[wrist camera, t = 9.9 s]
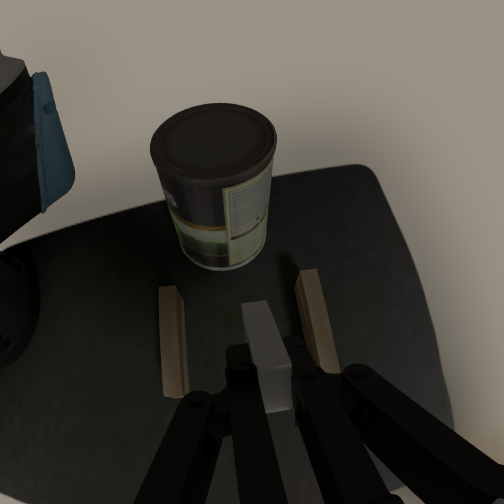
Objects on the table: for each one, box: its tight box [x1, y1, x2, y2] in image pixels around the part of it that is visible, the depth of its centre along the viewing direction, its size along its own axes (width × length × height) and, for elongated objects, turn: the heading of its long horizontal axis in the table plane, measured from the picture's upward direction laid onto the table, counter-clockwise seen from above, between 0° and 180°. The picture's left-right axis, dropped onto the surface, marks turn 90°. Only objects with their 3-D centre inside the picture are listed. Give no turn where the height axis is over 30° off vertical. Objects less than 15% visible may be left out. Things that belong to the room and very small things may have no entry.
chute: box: [159, 269, 340, 398], centre depth 27 cm, size 15×10×4 cm
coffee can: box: [150, 103, 277, 271], centre depth 29 cm, size 10×10×14 cm
